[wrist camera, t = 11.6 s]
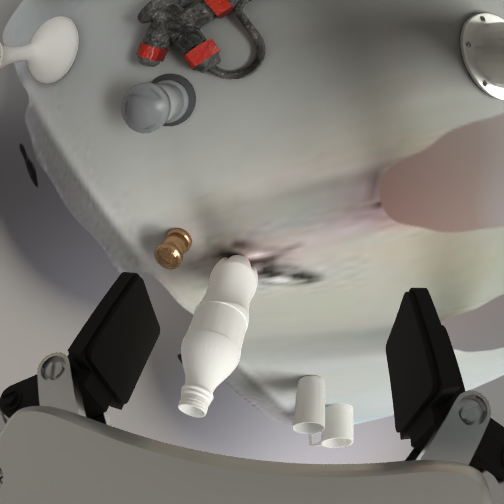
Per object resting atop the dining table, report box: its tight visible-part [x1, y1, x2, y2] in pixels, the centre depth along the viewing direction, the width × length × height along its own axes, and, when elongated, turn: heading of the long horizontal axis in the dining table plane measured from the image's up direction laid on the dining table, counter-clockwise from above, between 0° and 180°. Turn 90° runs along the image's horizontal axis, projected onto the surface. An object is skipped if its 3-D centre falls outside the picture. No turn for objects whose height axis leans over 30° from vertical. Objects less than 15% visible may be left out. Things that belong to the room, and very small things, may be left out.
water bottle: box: [178, 255, 258, 417], centre depth 38 cm, size 7×7×25 cm
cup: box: [309, 403, 353, 448], centre depth 66 cm, size 8×12×10 cm
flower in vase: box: [0, 16, 79, 84], centre depth 20 cm, size 13×11×25 cm
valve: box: [137, 0, 265, 79], centre depth 26 cm, size 6×26×15 cm
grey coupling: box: [122, 80, 190, 133], centre depth 31 cm, size 6×6×7 cm
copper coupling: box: [155, 228, 192, 269], centre depth 45 cm, size 4×4×5 cm
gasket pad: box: [152, 74, 196, 126], centre depth 34 cm, size 7×7×1 cm
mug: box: [292, 375, 325, 434], centre depth 59 cm, size 10×7×12 cm, turn 35°
